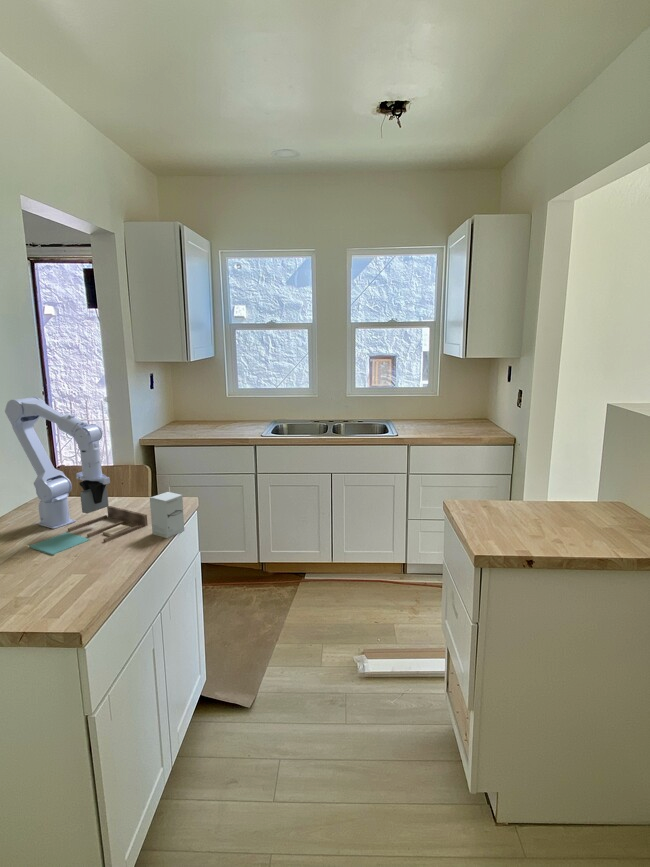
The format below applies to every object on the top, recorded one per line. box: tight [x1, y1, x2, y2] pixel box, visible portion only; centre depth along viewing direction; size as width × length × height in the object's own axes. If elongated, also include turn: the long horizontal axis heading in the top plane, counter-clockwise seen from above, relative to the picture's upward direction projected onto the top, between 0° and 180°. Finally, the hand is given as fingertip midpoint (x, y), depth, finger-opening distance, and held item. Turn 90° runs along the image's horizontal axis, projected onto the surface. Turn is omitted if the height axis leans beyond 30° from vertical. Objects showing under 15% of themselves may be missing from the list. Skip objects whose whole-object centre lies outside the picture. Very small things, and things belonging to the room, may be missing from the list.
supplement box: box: [149, 491, 185, 539], centre depth 154 cm, size 7×7×13 cm
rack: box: [67, 505, 149, 543], centre depth 159 cm, size 19×16×4 cm
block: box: [79, 485, 110, 515], centre depth 158 cm, size 2×8×7 cm, turn 151°
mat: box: [28, 531, 91, 556], centre depth 148 cm, size 12×12×1 cm
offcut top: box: [102, 524, 131, 537], centre depth 156 cm, size 4×7×1 cm, turn 153°
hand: (95, 502), depth 159 cm, fingers closed on block, 2 cm apart
